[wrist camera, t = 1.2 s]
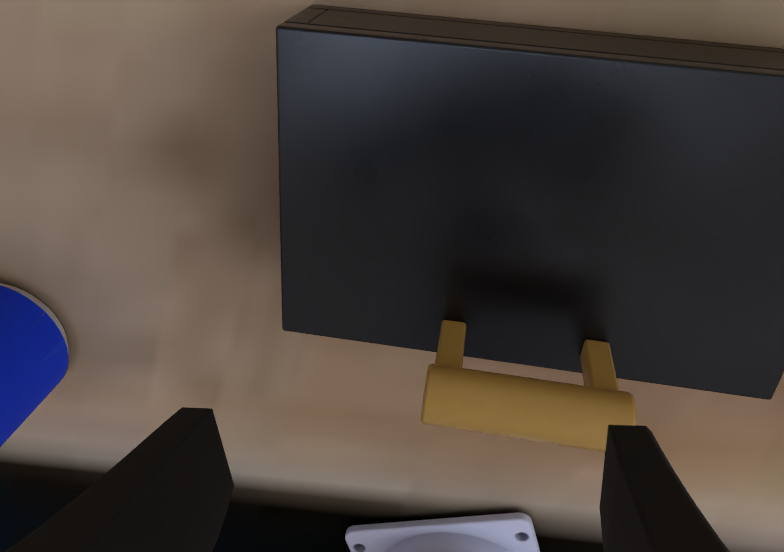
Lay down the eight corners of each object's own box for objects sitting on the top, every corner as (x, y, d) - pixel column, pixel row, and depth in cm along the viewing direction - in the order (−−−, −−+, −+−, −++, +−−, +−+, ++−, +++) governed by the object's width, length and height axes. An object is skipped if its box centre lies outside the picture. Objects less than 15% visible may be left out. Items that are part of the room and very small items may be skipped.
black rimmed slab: (742, 316, 22) (771, 370, 19) (310, 259, 23) (287, 303, 21) (845, 54, 18) (898, 80, 15) (311, 3, 19) (282, 20, 17)
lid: (764, 387, 20) (823, 504, 16) (287, 319, 21) (239, 412, 17) (899, 81, 15) (1024, 144, 11) (282, 21, 17) (216, 60, 13)
